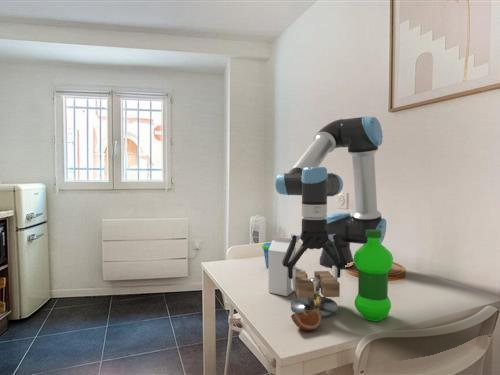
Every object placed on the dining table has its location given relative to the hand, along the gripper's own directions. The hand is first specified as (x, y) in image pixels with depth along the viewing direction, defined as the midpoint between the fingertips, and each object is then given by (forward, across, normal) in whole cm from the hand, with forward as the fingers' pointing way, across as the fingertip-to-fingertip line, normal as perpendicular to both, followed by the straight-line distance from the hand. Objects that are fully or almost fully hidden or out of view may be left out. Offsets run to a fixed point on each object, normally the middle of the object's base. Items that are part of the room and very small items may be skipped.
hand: (314, 288), depth 102 cm
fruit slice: (+6, -5, -13) cm, 15 cm away
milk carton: (+6, -8, +15) cm, 18 cm away
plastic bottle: (+6, +15, -7) cm, 18 cm away
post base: (+6, 0, 0) cm, 6 cm away
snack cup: (+6, -7, +46) cm, 47 cm away
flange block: (0, 0, 0) cm, 0 cm away
